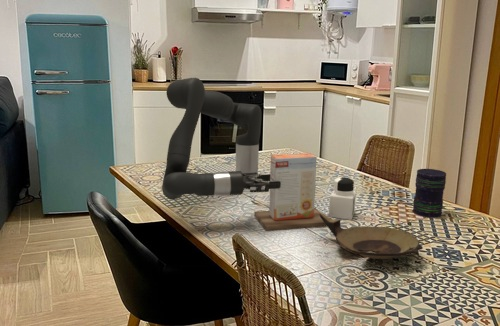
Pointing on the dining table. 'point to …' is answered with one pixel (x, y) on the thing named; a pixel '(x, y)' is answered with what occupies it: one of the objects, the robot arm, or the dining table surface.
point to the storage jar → (429, 193)
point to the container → (342, 199)
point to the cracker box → (293, 186)
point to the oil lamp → (373, 240)
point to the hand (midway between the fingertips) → (276, 181)
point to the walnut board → (288, 221)
